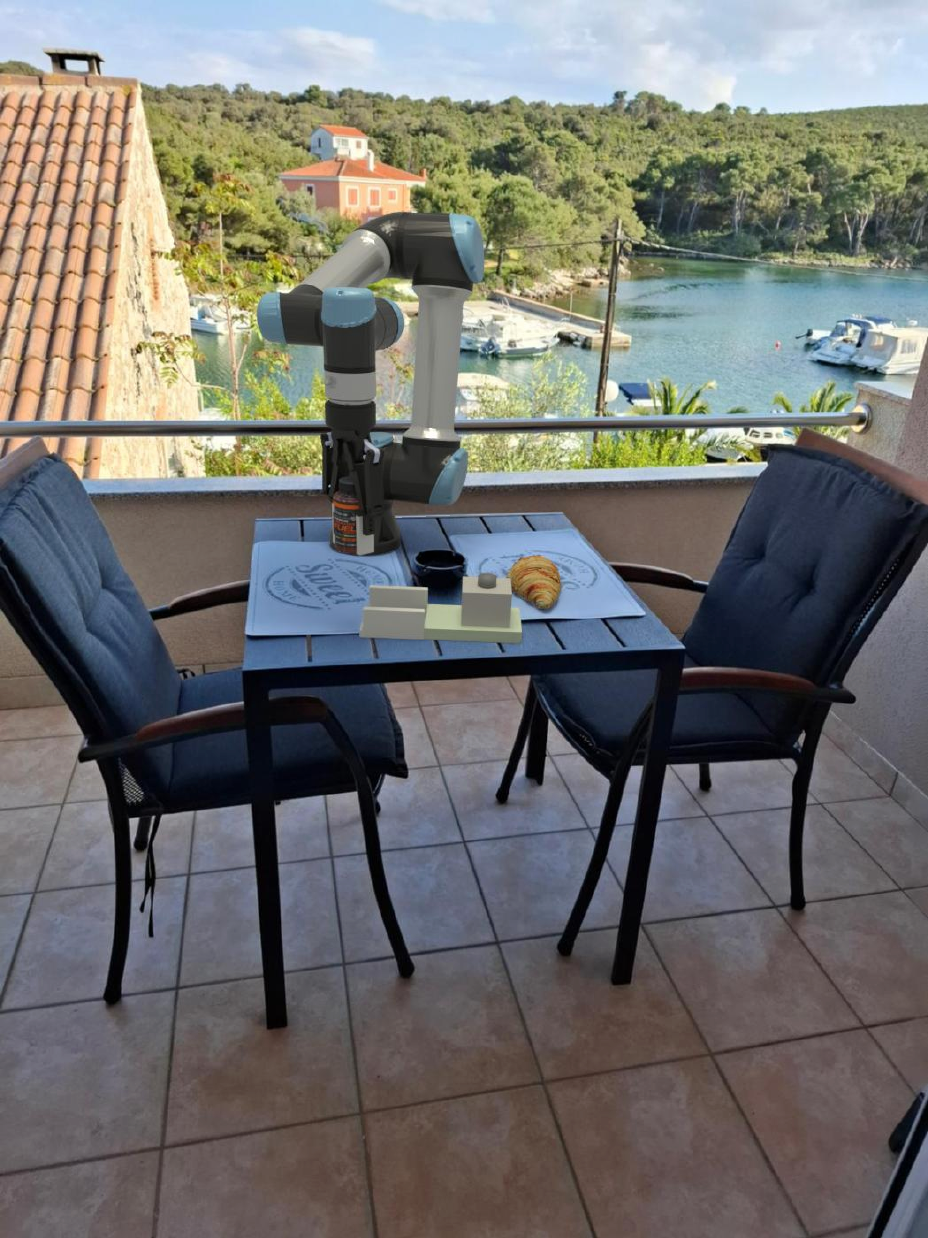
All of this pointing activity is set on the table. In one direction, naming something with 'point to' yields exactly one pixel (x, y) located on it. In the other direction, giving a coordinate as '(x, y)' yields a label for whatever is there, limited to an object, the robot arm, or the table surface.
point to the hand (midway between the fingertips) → (353, 546)
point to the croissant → (536, 580)
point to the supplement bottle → (345, 516)
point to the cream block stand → (444, 613)
